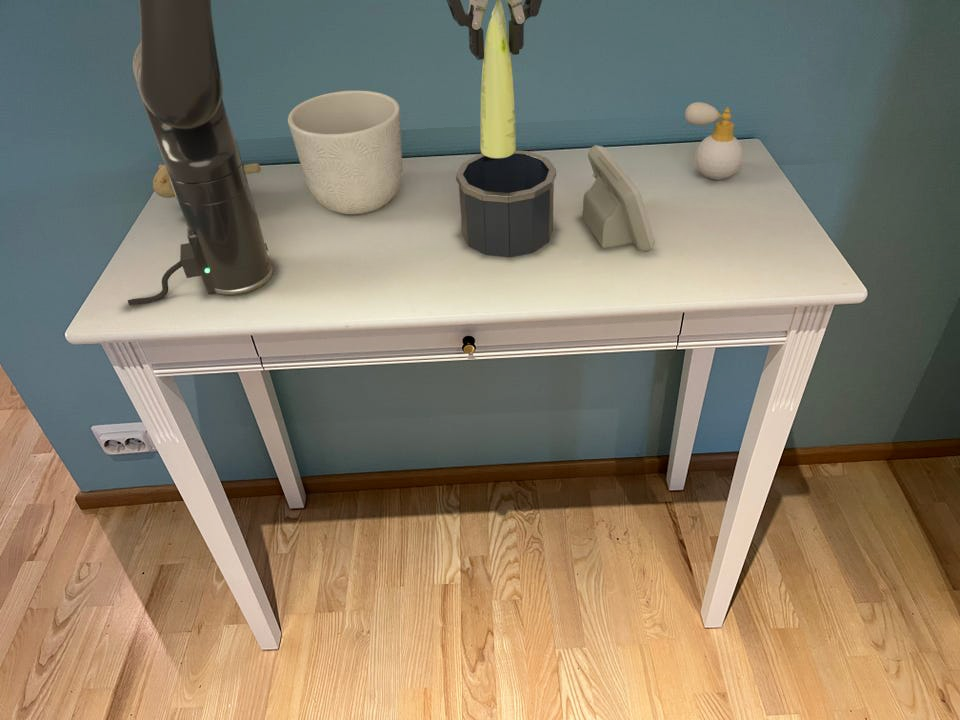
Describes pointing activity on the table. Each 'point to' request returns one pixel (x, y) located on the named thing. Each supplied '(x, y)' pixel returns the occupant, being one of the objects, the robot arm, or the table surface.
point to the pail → (506, 203)
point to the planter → (349, 149)
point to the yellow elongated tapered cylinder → (497, 91)
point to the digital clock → (615, 205)
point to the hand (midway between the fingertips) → (496, 54)
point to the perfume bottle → (715, 142)
